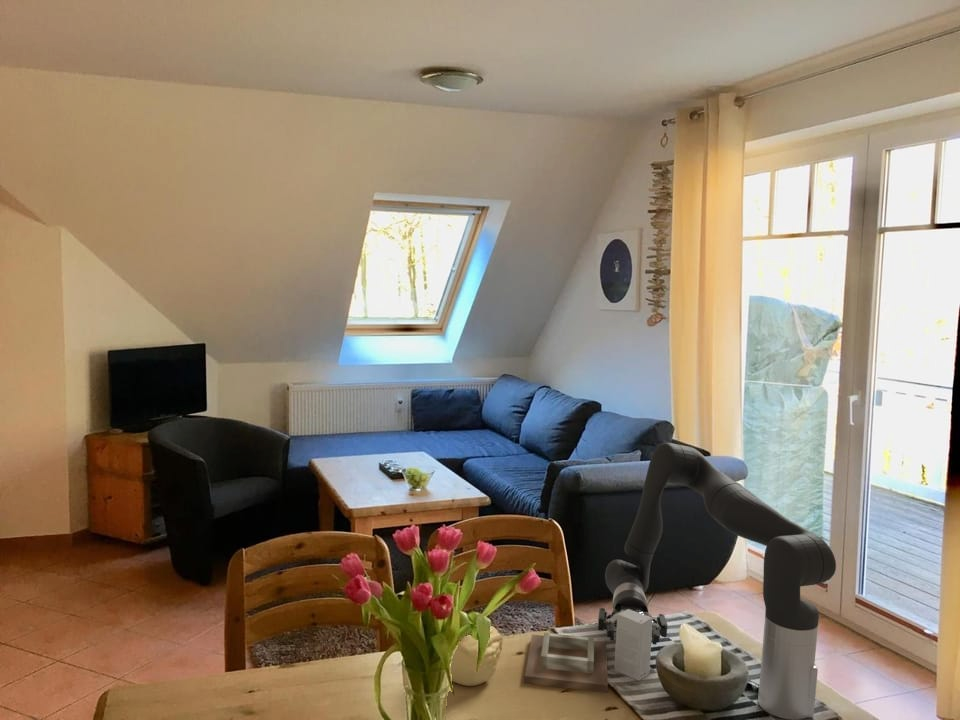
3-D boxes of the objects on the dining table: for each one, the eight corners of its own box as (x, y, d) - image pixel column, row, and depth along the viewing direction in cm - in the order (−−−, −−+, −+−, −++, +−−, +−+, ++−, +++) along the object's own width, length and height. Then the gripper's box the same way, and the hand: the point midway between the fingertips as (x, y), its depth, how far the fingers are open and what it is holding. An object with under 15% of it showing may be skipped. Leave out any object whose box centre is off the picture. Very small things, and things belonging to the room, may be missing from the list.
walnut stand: (605, 648, 168) (606, 631, 167) (607, 692, 150) (608, 672, 150) (531, 641, 170) (532, 623, 169) (524, 683, 152) (525, 663, 152)
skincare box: (650, 674, 158) (653, 617, 156) (638, 681, 154) (642, 624, 153) (624, 663, 162) (628, 608, 160) (612, 670, 159) (616, 613, 157)
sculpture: (479, 699, 146) (481, 644, 145) (427, 680, 152) (428, 627, 151) (509, 674, 155) (512, 622, 154) (459, 657, 162) (461, 607, 160)
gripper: (598, 586, 174) (599, 616, 159) (663, 592, 172) (670, 623, 157) (596, 618, 175) (597, 651, 159) (661, 624, 173) (668, 659, 157)
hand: (633, 637), depth 158 cm, fingers open, 8 cm apart
